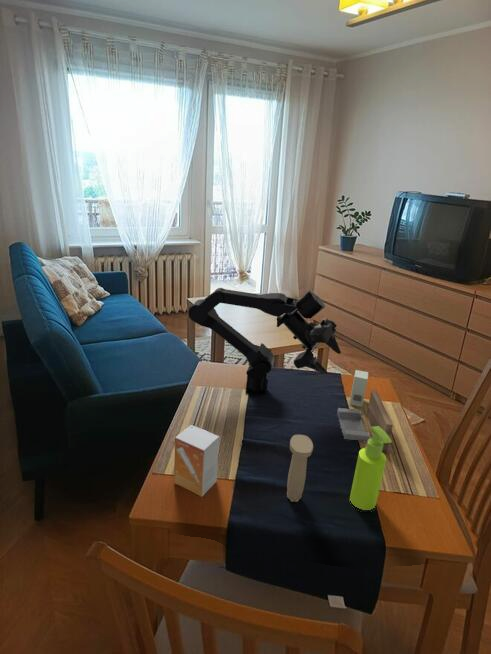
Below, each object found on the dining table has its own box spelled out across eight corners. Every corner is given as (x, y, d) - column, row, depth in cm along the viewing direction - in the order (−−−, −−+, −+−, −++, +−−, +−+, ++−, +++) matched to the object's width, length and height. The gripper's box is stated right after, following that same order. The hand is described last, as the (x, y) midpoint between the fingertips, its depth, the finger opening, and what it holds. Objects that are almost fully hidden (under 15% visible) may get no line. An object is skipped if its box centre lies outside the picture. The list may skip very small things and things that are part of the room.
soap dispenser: (359, 517, 97) (376, 442, 90) (344, 495, 103) (359, 422, 96) (383, 513, 99) (401, 438, 91) (367, 491, 105) (382, 420, 97)
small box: (173, 483, 102) (174, 437, 98) (189, 468, 108) (191, 423, 103) (201, 498, 99) (204, 450, 94) (217, 481, 104) (220, 435, 99)
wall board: (380, 452, 119) (386, 424, 116) (366, 415, 136) (371, 390, 133) (392, 453, 119) (398, 425, 116) (376, 416, 136) (382, 391, 133)
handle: (302, 488, 104) (311, 435, 99) (305, 509, 98) (314, 453, 93) (282, 487, 104) (289, 433, 99) (284, 507, 98) (291, 452, 93)
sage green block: (349, 405, 141) (354, 377, 137) (350, 396, 146) (355, 369, 143) (362, 408, 140) (367, 380, 136) (362, 399, 145) (368, 372, 142)
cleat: (344, 439, 123) (345, 433, 123) (337, 413, 136) (338, 407, 135) (369, 442, 123) (370, 436, 123) (359, 415, 136) (360, 409, 135)
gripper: (299, 340, 123) (336, 379, 126) (330, 300, 133) (363, 336, 135) (278, 350, 133) (313, 386, 135) (308, 311, 143) (340, 346, 145)
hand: (333, 363), depth 137 cm, fingers open, 9 cm apart
